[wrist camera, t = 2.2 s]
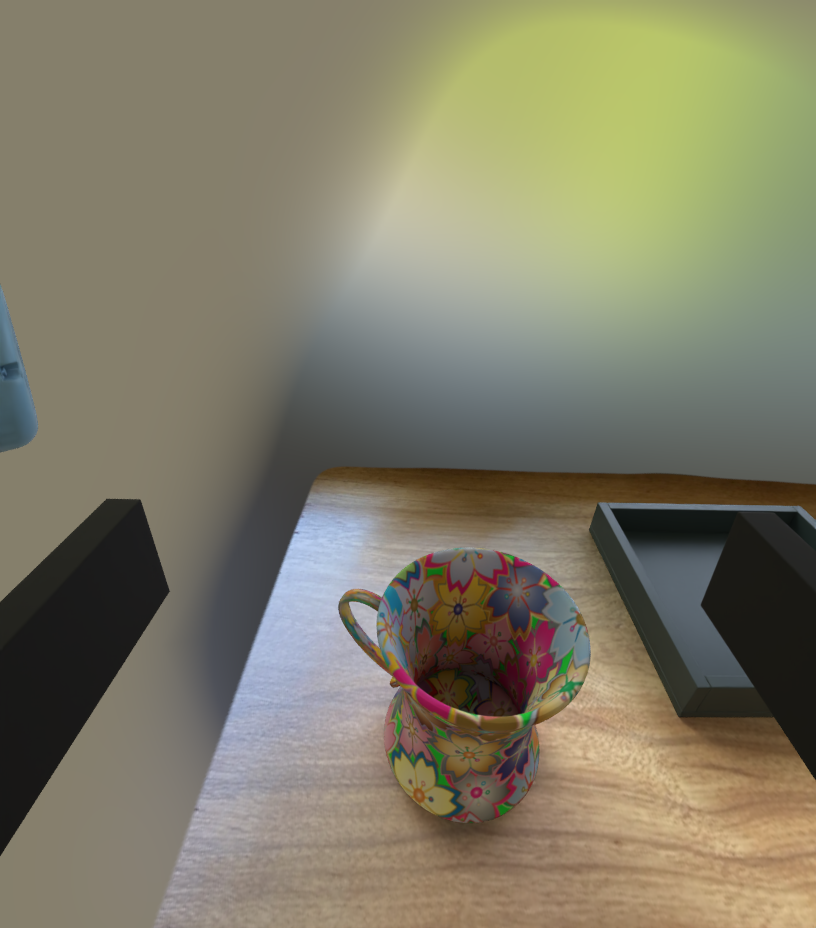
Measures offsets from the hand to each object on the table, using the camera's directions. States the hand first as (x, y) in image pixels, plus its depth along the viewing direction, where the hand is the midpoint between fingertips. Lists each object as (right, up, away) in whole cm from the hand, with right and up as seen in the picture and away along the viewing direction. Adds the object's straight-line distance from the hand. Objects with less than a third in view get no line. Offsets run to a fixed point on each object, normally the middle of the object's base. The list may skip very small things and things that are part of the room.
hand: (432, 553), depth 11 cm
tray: (+24, -9, +25) cm, 36 cm away
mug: (+1, -13, +17) cm, 22 cm away
